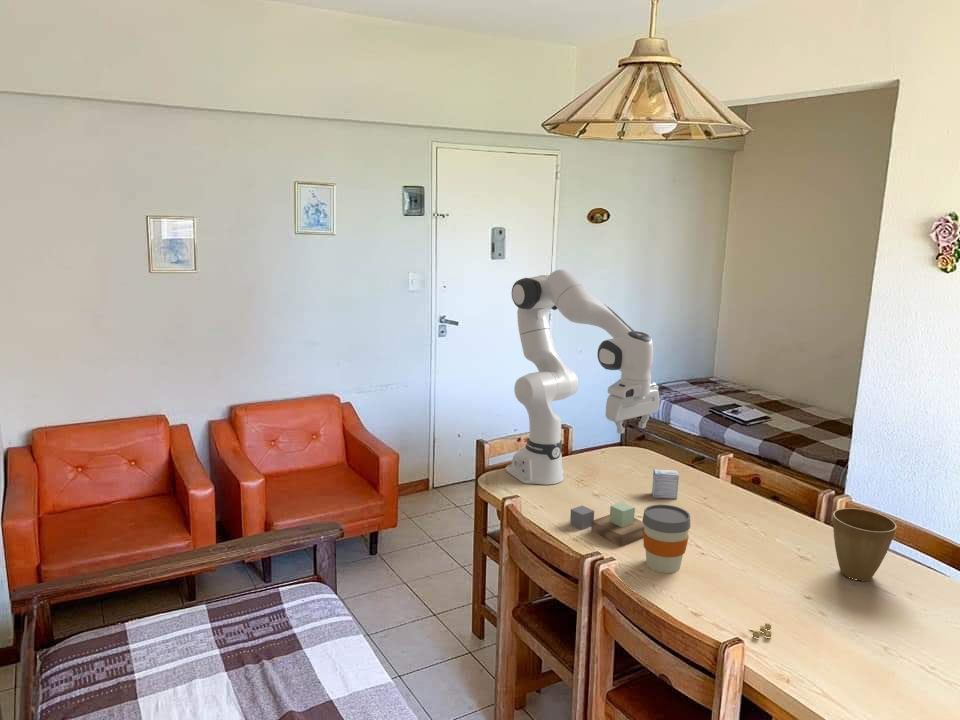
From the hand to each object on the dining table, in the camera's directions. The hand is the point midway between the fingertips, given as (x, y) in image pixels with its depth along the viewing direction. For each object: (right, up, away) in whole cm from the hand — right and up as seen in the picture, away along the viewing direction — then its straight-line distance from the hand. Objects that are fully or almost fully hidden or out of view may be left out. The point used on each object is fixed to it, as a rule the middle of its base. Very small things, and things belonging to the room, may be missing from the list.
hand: (631, 430), depth 224 cm
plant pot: (+55, -36, -26) cm, 71 cm away
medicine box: (+16, -25, +24) cm, 38 cm away
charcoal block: (-15, -29, +1) cm, 33 cm away
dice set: (+19, -42, -54) cm, 71 cm away
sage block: (-4, -27, -5) cm, 28 cm away
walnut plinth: (-4, -31, -4) cm, 31 cm away
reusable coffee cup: (+4, -35, -23) cm, 42 cm away
